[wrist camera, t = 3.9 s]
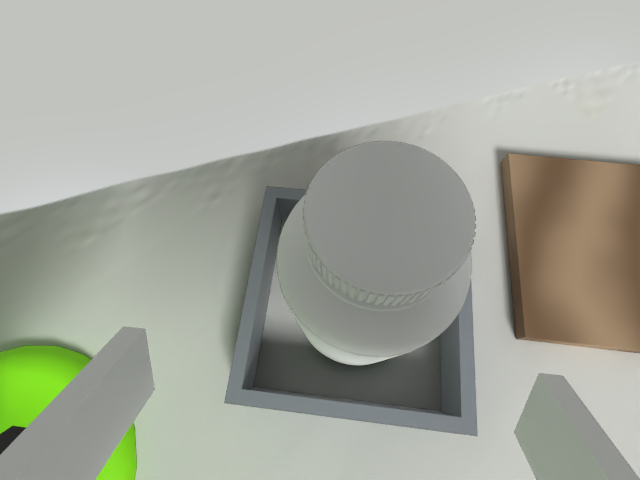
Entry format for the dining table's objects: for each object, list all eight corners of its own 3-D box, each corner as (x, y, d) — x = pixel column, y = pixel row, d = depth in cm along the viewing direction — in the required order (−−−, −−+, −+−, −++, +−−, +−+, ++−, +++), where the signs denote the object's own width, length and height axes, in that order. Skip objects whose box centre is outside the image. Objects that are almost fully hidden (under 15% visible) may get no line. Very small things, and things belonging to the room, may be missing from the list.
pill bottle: (328, 234, 26) (333, 75, 12) (428, 282, 25) (560, 164, 11) (275, 329, 24) (205, 264, 10) (382, 389, 22) (477, 412, 8)
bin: (450, 226, 26) (468, 205, 23) (454, 427, 22) (477, 436, 18) (273, 208, 27) (266, 186, 24) (238, 399, 22) (224, 403, 19)
